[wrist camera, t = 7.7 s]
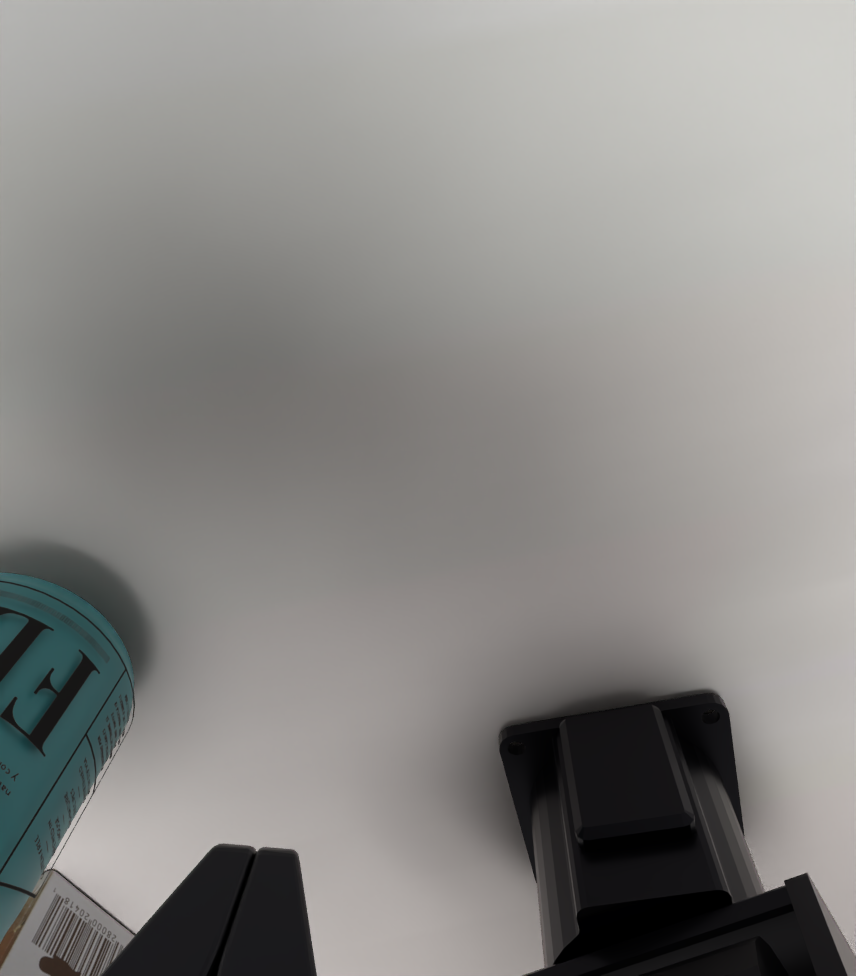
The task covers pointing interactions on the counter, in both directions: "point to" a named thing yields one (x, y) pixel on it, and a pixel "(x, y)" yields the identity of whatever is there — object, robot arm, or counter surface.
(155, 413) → the counter surface
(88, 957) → the coffee box
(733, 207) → the counter surface
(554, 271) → the counter surface
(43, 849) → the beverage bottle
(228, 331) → the counter surface
